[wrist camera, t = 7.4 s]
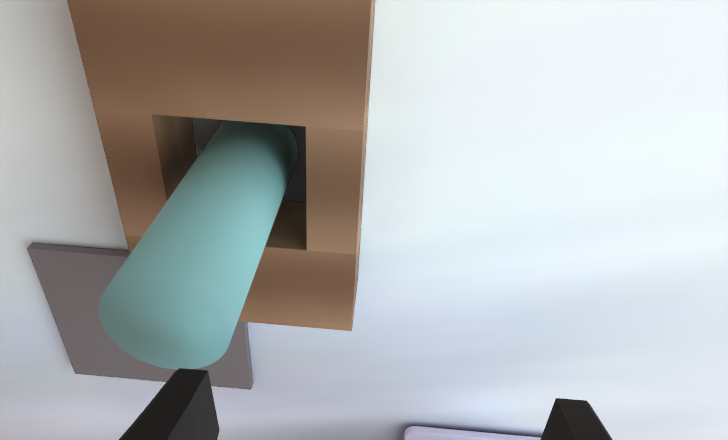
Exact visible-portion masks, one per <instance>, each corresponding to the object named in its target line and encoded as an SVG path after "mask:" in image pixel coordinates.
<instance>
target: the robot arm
mask: <svg viewBox="0 0 728 440" xmlns="http://www.w3.org/2000/svg"><path fill="white" fill-rule="evenodd" d="M218 434H219V425H218V420H217V415H216V410H215V404H214V399H213V394H212V388H211V383H210V378H209V373H208V370H197V369H184V368H179V369H178V370H176V371H175V372H174V373H173V375H172V376H171V377H170V378H169V380H168V381H167V382H166V383H165V385H164V386H163V387H162V389H161V390H160V391H159V392H158V394H157V395H156V396H155V397H154V398H153V400H152V401H151V402H150V403H149V405H148V406H147V407H146V408H145V410H144V411H143V412H142V413H141V414H140V415H139V417H138V418H137V419H136V420H135V421H134V423H133V424H132V425H131V426H130V427H129V429H128V430H127V431H126V432H125V433H124V434H123V435H122V437H121V438H120V439H119V440H217V438H218ZM404 440H612V438H611V437H610V435H609V433H608V432H607V430H606V429H605V427H604V426H603V424H602V423H601V421H600V420H599V418H598V416H597V415H596V413H595V412H594V410H593V409H592V407H591V405H590V404H589V403H588V402H587V401H584V400H571V399H559V398H556V400H555V403H554V405H553V408H552V411H551V413H550V416H549V419H548V421H547V424H546V427H545V429H544V432H543V434H542V437H541V438H540V437H529V436H518V435H507V434H497V433H486V432H475V431H464V430H453V429H442V428H431V427H420V426H411V427H408V428H407V429H406V430H405V434H404Z"/></svg>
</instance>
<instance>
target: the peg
mask: <svg viewBox="0 0 728 440" xmlns="http://www.w3.org/2000/svg"><path fill="white" fill-rule="evenodd" d="M297 154H298V149H297V143H296V139H295V137H294V135H293V133H292V131H291V130H290V128H289V127H288V126H287V125H282V124H269V123H256V122H244V121H231V120H224V121H223V122H222V123H221V125H220V126H219V128H218V129H217V130H216V132H215V133H214V135H213V136H212V138H211V139H210V140H209V142H208V143H207V145H206V146H205V148H204V149H203V150H202V152H201V153H200V155H199V156H198V158H197V159H196V161H195V162H194V163H193V165H192V166H191V168H190V169H189V171H188V172H187V173H186V175H185V176H184V178H183V179H182V181H181V182H180V183H179V185H178V186H177V188H176V189H175V191H174V192H173V194H172V195H171V196H170V198H169V199H168V201H167V202H166V204H165V205H164V206H163V208H162V209H161V211H160V212H159V214H158V215H157V216H156V218H155V219H154V221H153V222H152V224H151V225H150V227H149V228H148V229H147V231H146V232H145V234H144V235H143V237H142V238H141V239H140V241H139V242H138V244H137V245H136V247H135V248H134V249H133V251H132V252H131V254H130V255H129V257H128V258H127V260H126V261H125V262H124V264H123V265H122V267H121V268H120V270H119V271H118V272H117V274H116V275H115V277H114V278H113V280H112V281H111V282H110V284H109V285H108V287H107V288H106V290H105V291H104V293H103V294H102V296H101V298H100V301H99V306H98V312H99V318H100V322H101V324H102V326H103V328H104V330H105V331H106V333H107V334H108V336H109V337H110V338H111V339H112V340H113V341H114V342H115V343H116V344H117V345H118V346H119V347H120V348H121V349H123V350H124V351H125V352H127V353H128V354H130V355H132V356H133V357H135V358H137V359H139V360H141V361H143V362H146V363H149V364H151V365H154V366H158V367H162V368H167V369H175V370H178V369H179V368H184V369H197V368H201V367H205V366H208V365H210V364H212V363H214V362H215V361H217V360H218V359H220V358H221V357H222V356H223V355H224V353H225V352H226V350H227V349H228V346H229V344H230V341H231V338H232V335H233V333H234V330H235V327H236V325H237V322H238V319H239V316H240V314H241V311H242V308H243V305H244V303H245V300H246V297H247V294H248V292H249V289H250V286H251V283H252V281H253V278H254V275H255V272H256V270H257V267H258V264H259V261H260V259H261V256H262V253H263V250H264V248H265V245H266V242H267V239H268V237H269V234H270V231H271V228H272V226H273V223H274V220H275V218H276V215H277V212H278V209H279V207H280V204H281V201H282V198H283V196H284V193H285V190H286V187H287V185H288V182H289V179H290V176H291V174H292V171H293V168H294V165H295V163H296V160H297Z"/></svg>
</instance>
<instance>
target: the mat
mask: <svg viewBox="0 0 728 440" xmlns="http://www.w3.org/2000/svg"><path fill="white" fill-rule="evenodd" d="M27 249H28V252H29V254H30V257H31V259H32V262H33V265H34V267H35V270H36V272H37V275H38V278H39V280H40V283H41V286H42V288H43V291H44V293H45V296H46V299H47V301H48V304H49V306H50V309H51V312H52V314H53V317H54V319H55V322H56V325H57V327H58V330H59V333H60V335H61V338H62V340H63V343H64V346H65V348H66V351H67V353H68V356H69V359H70V361H71V364H72V366H73V369H74V372H75V374H85V375H96V376H107V377H118V378H129V379H140V380H151V381H162V382H167V381H168V380H169V378H170V377H171V376H172V375H173V373H174V372H175V371H176V370H175V369H167V368H162V367H158V366H154V365H151V364H149V363H146V362H143V361H141V360H139V359H137V358H135V357H133V356H132V355H130V354H128V353H127V352H125V351H124V350H123V349H121V348H120V347H119V346H118V345H117V344H116V343H115V342H114V341H113V340H112V339H111V338H110V337H109V336H108V334H107V333H106V331H105V330H104V328H103V326H102V324H101V322H100V318H99V312H98V306H99V301H100V298H101V296H102V294H103V293H104V291H105V290H106V288H107V287H108V285H109V284H110V282H111V281H112V280H113V278H114V277H115V275H116V274H117V272H118V271H119V270H120V268H121V267H122V265H123V264H124V262H125V261H126V260H127V258H128V257H129V255H130V252H129V251H123V250H111V249H99V248H87V247H75V246H64V245H52V244H40V243H32V244H31V245H30V246H29V247H28V248H27ZM197 370H208V373H209V378H210V383H211V386H218V387H229V388H240V389H251V388H252V385H253V378H252V368H251V358H250V348H249V338H248V327H247V322H244V321H238V322H237V325H236V327H235V330H234V333H233V335H232V338H231V341H230V344H229V346H228V349H227V350H226V352H225V353H224V355H223V356H222V357H221V358H220V359H218V360H217V361H215V362H214V363H212V364H210V365H208V366H205V367H201V368H197Z"/></svg>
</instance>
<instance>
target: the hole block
mask: <svg viewBox="0 0 728 440" xmlns="http://www.w3.org/2000/svg"><path fill="white" fill-rule="evenodd" d="M67 1H68V5H69V9H70V13H71V17H72V21H73V25H74V29H75V33H76V37H77V41H78V45H79V49H80V53H81V57H82V62H83V66H84V70H85V74H86V78H87V82H88V86H89V90H90V94H91V98H92V102H93V106H94V110H95V114H96V118H97V122H98V126H99V130H100V134H101V138H102V142H103V147H104V151H105V155H106V159H107V163H108V167H109V171H110V175H111V179H112V183H113V187H114V191H115V195H116V199H117V203H118V207H119V211H120V215H121V219H122V223H123V228H124V232H125V236H126V240H127V244H128V248H129V252H130V254H131V252H132V251H133V249H134V248H135V247H136V245H137V244H138V242H139V241H140V239H141V238H142V237H143V235H144V234H145V232H146V231H147V229H148V228H149V227H150V225H151V224H152V222H153V221H154V219H155V218H156V216H157V215H158V214H159V212H160V211H161V209H162V208H163V206H164V205H165V204H166V202H167V201H168V199H169V198H170V196H171V195H172V194H173V192H174V191H175V189H176V188H177V186H178V185H179V183H180V182H181V181H182V179H183V178H184V176H185V175H186V173H187V172H188V171H189V169H190V168H191V166H192V165H193V163H194V162H195V161H196V159H197V156H196V149H195V142H194V135H193V127H192V120H191V117H193V118H205V119H218V120H231V121H244V122H256V123H269V124H282V125H295V126H306V202H295V201H283V200H282V201H281V204H280V207H279V209H278V212H277V215H276V218H275V220H274V223H273V226H272V228H271V231H270V234H269V237H268V239H267V242H266V245H265V248H264V250H263V253H262V256H261V259H260V261H259V264H258V267H257V270H256V272H255V275H254V278H253V281H252V283H251V286H250V289H249V292H248V294H247V297H246V300H245V303H244V305H243V308H242V311H241V314H240V316H239V319H238V321H244V322H255V323H267V324H278V325H290V326H301V327H312V328H324V329H335V330H347V331H352V324H353V316H354V307H355V299H356V290H357V281H358V267H359V251H360V235H361V219H362V203H363V187H364V171H365V155H366V139H367V123H368V107H369V91H370V75H371V59H372V43H373V27H374V11H375V0H67Z"/></svg>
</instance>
